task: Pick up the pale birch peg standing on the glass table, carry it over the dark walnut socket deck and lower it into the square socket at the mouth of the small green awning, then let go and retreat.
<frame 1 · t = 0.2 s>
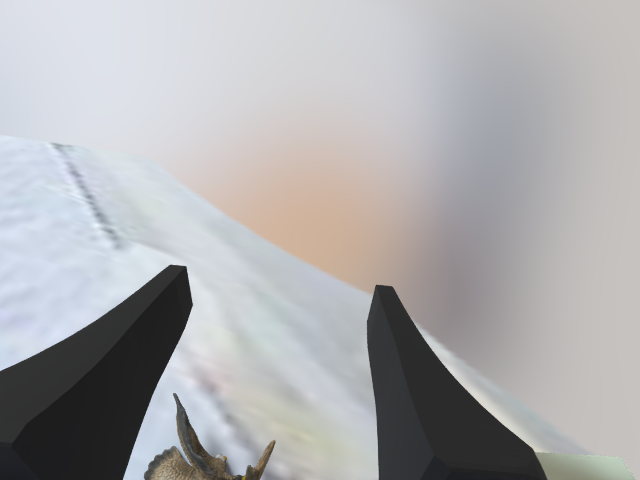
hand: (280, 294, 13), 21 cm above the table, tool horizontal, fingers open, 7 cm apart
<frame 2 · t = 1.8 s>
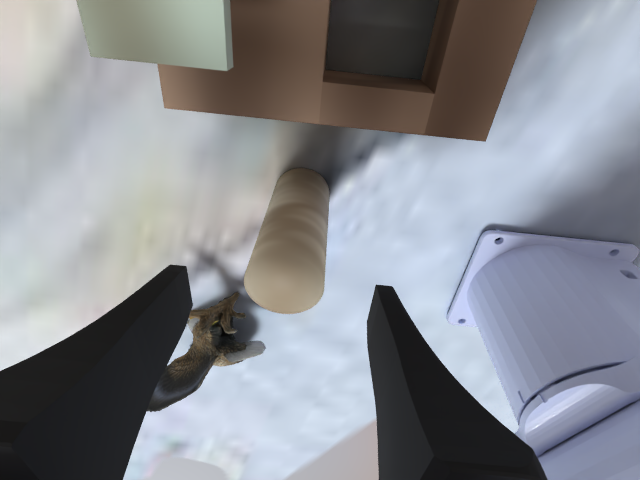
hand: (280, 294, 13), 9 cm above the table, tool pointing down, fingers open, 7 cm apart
peg: (302, 193, 20), on the table
eagle figurine: (216, 320, 28), on the table
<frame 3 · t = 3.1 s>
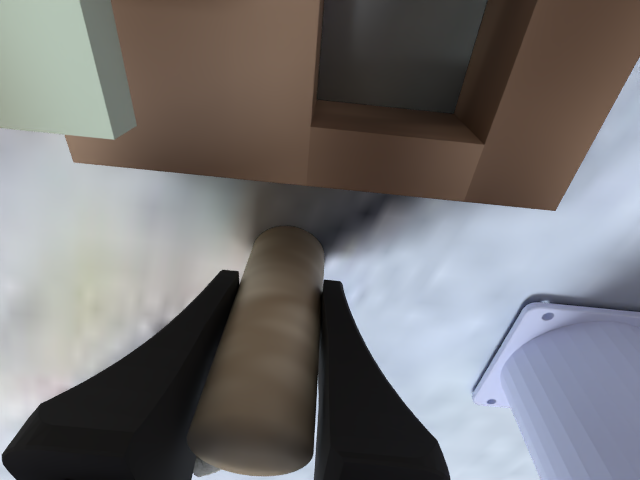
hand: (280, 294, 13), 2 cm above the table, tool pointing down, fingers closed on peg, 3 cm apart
peg: (288, 256, 15), on the table, touching gripper
eagle figurine: (187, 398, 23), on the table
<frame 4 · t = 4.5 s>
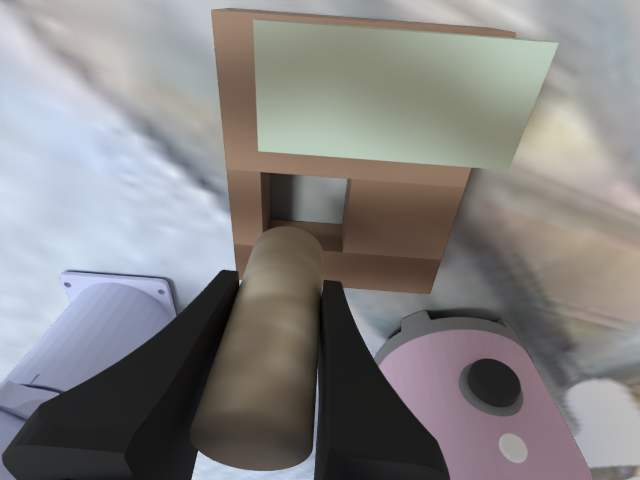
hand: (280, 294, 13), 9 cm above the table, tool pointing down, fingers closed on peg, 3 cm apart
blender: (446, 341, 29), on the table
socket deck: (344, 161, 20), on the table
peg: (288, 256, 16), point 7 cm above the table, touching gripper
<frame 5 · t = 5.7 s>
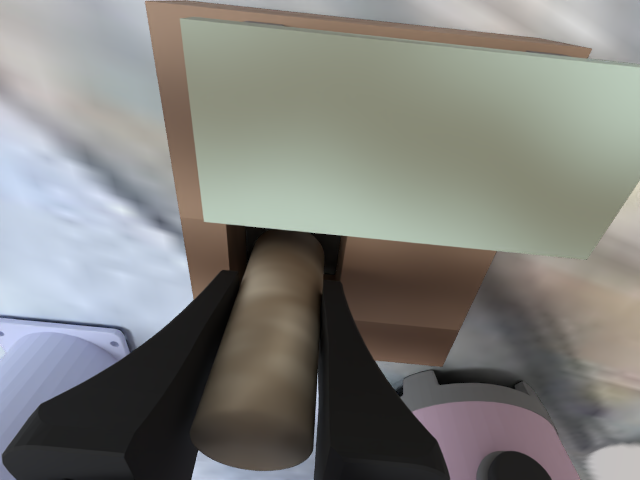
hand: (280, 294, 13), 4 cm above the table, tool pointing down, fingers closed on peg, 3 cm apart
blender: (454, 401, 25), on the table
socket deck: (339, 202, 16), on the table
peg: (288, 256, 16), point 2 cm above the table, touching gripper
when the fingers open (4 cm above the table, at t = 6.3 s): peg drops 2 cm, resting in socket deck.
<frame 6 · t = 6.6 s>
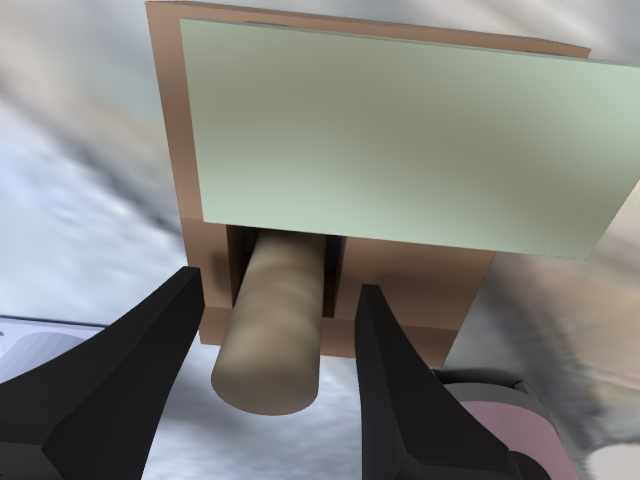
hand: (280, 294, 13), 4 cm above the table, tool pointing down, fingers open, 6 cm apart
blender: (454, 401, 25), on the table
socket deck: (338, 202, 16), on the table
peg: (293, 236, 17), resting in socket deck
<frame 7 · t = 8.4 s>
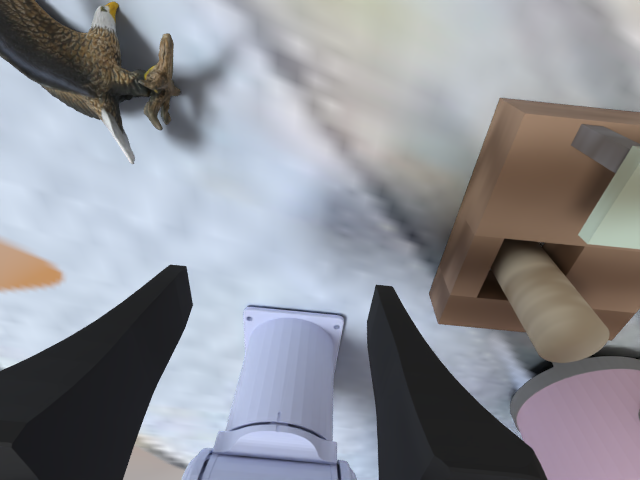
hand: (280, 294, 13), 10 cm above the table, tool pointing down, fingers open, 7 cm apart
blender: (582, 374, 31), on the table
socket deck: (551, 222, 22), on the table
peg: (507, 246, 24), resting in socket deck
eagle figurine: (107, 45, 18), on the table
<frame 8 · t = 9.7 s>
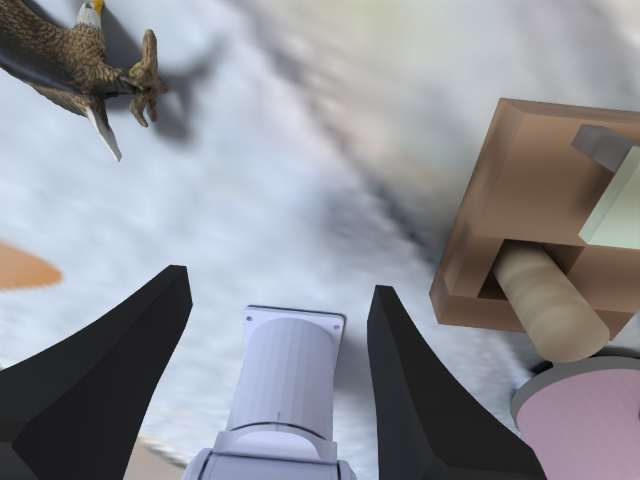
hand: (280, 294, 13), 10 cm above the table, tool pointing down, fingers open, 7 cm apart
blender: (582, 374, 31), on the table
socket deck: (551, 222, 22), on the table
peg: (507, 246, 24), resting in socket deck
eagle figurine: (93, 43, 18), on the table
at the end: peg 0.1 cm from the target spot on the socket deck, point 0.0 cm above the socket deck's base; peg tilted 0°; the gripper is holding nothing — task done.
